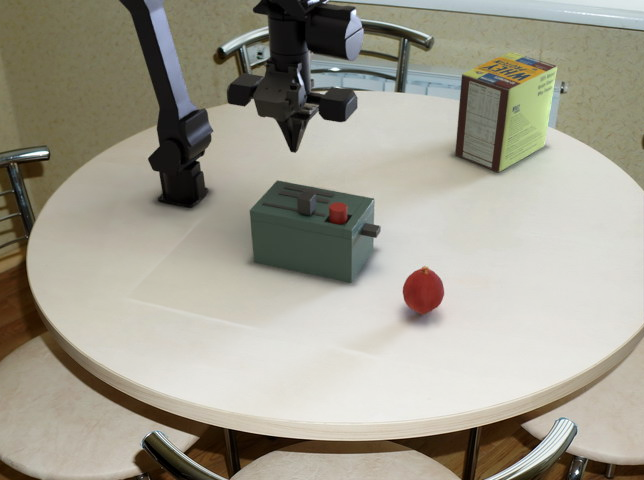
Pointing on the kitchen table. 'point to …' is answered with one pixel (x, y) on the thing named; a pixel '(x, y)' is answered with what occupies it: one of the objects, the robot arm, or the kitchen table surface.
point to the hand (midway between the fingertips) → (294, 151)
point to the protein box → (504, 110)
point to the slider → (306, 203)
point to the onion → (423, 290)
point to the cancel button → (338, 213)
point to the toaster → (312, 232)
